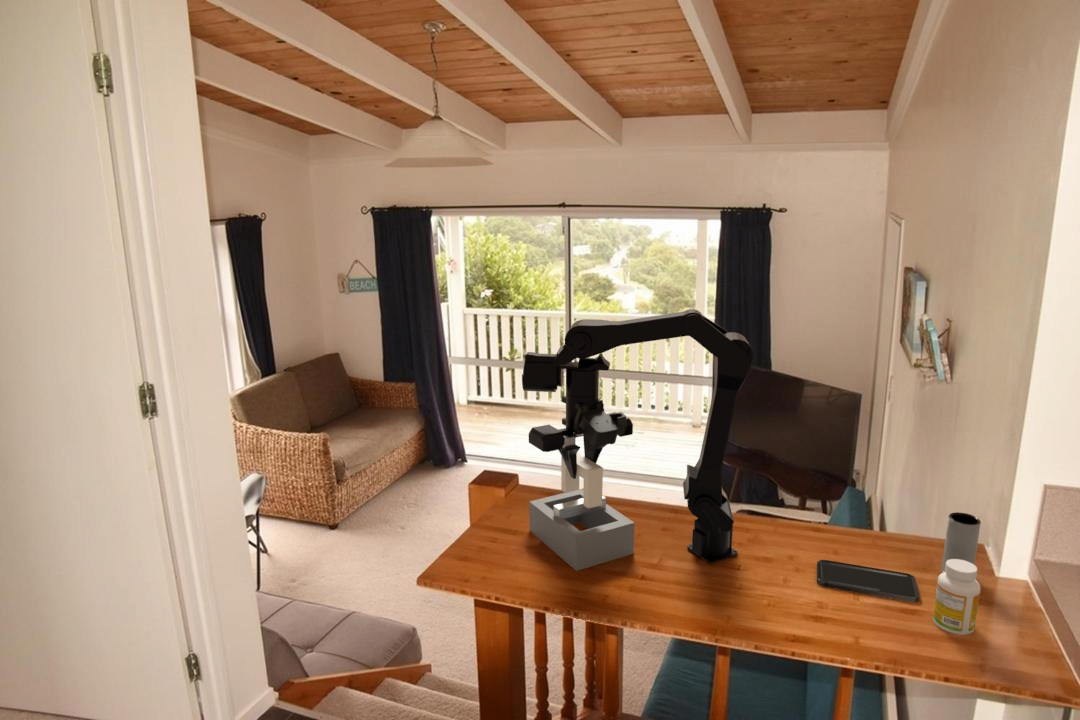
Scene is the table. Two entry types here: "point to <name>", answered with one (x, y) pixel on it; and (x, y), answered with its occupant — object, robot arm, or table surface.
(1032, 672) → the table surface
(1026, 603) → the table surface
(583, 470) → the cream block
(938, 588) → the supplement bottle
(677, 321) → the robot arm
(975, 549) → the grey hollow cylinder
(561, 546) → the frame
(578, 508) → the cross bar
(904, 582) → the phone
